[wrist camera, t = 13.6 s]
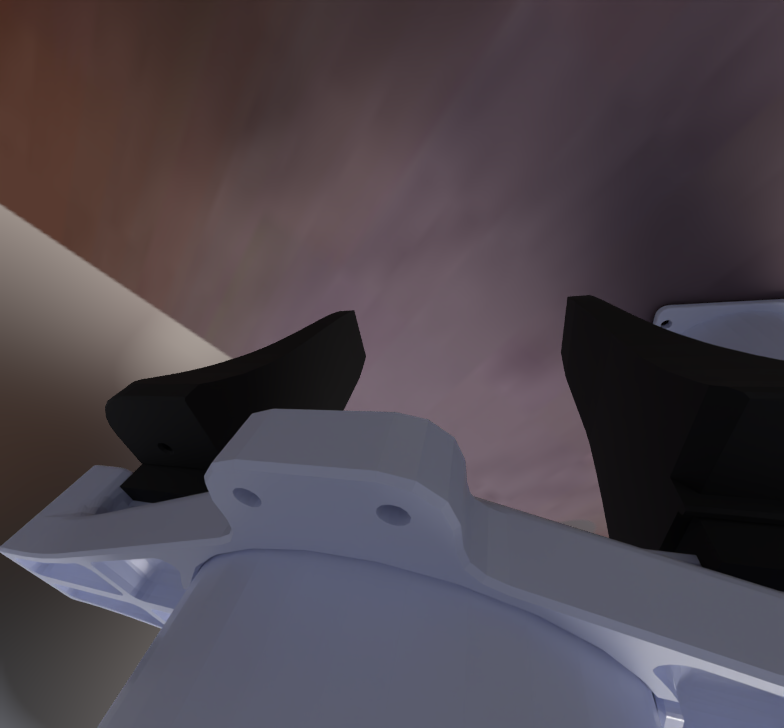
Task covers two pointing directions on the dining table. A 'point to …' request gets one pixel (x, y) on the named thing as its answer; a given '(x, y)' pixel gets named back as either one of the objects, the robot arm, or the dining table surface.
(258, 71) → the dining table surface
